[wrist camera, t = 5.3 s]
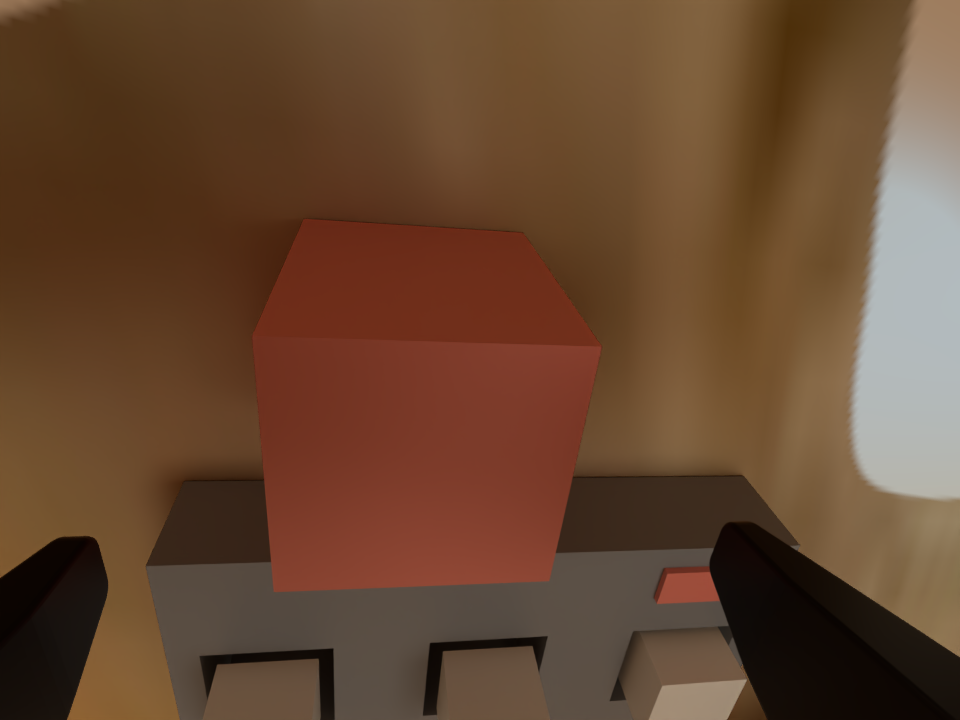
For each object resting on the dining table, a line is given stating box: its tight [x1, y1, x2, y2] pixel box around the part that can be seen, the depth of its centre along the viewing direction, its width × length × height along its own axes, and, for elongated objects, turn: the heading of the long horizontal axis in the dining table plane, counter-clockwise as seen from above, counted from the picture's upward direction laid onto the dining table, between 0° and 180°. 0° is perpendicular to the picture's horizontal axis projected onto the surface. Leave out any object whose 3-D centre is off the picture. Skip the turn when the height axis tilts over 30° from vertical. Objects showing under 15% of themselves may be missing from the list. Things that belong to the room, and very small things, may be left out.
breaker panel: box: [146, 476, 800, 720], centre depth 19 cm, size 17×10×3 cm, turn 84°
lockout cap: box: [252, 219, 602, 592], centre depth 12 cm, size 5×5×6 cm
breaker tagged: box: [618, 627, 747, 720], centre depth 19 cm, size 3×3×3 cm
